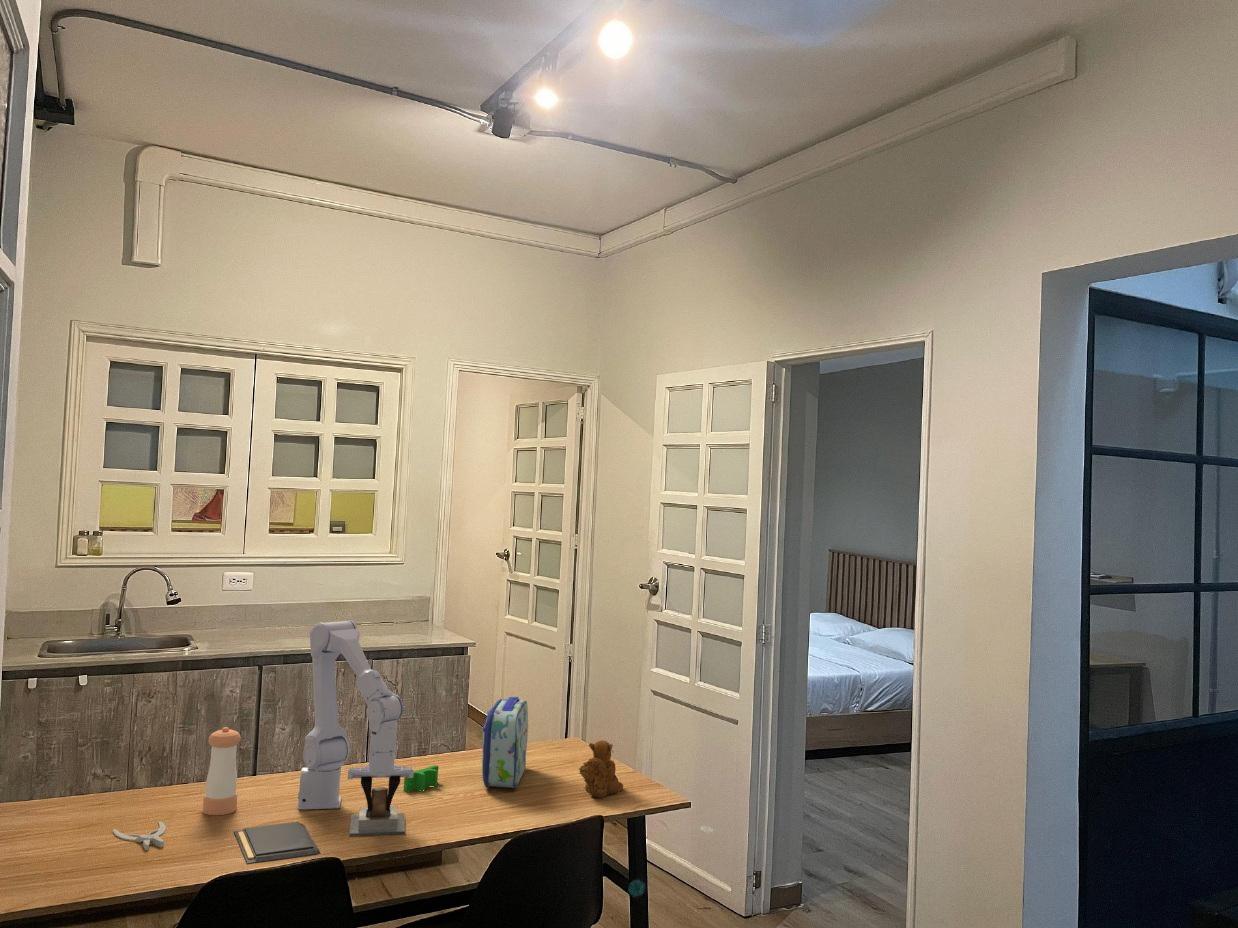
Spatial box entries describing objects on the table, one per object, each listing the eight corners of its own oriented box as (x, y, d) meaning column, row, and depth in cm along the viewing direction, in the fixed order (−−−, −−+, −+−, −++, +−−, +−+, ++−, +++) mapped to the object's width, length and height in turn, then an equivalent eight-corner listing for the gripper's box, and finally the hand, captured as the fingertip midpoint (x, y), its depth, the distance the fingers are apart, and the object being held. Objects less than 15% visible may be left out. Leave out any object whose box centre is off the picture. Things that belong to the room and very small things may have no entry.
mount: (349, 836, 198) (350, 823, 198) (351, 817, 210) (352, 805, 210) (404, 833, 201) (405, 821, 201) (404, 815, 213) (404, 803, 213)
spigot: (369, 818, 204) (371, 791, 204) (370, 813, 207) (372, 786, 208) (385, 818, 204) (387, 791, 205) (386, 812, 208) (388, 786, 208)
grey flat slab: (321, 848, 188) (243, 858, 180) (321, 857, 188) (243, 868, 180) (305, 817, 205) (233, 825, 198) (305, 825, 205) (233, 834, 198)
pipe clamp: (413, 795, 229) (414, 777, 229) (403, 792, 231) (404, 774, 231) (444, 784, 238) (445, 767, 238) (434, 781, 240) (435, 764, 240)
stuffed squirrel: (624, 787, 243) (627, 738, 244) (610, 803, 229) (613, 751, 230) (589, 783, 246) (592, 734, 246) (573, 798, 232) (576, 746, 233)
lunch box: (491, 763, 259) (495, 690, 260) (528, 765, 259) (532, 692, 260) (476, 792, 233) (480, 710, 234) (517, 794, 233) (522, 713, 234)
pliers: (162, 816, 201) (180, 837, 189) (161, 824, 201) (180, 845, 189) (112, 825, 194) (128, 847, 183) (111, 832, 194) (128, 855, 183)
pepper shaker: (195, 810, 209) (201, 727, 210) (222, 802, 215) (228, 721, 216) (216, 817, 205) (222, 732, 206) (243, 808, 212) (249, 726, 213)
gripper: (348, 754, 201) (344, 816, 200) (415, 753, 204) (411, 814, 204) (350, 746, 208) (346, 805, 207) (414, 745, 211) (410, 804, 211)
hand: (378, 809), depth 206 cm, fingers closed on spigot, 3 cm apart
